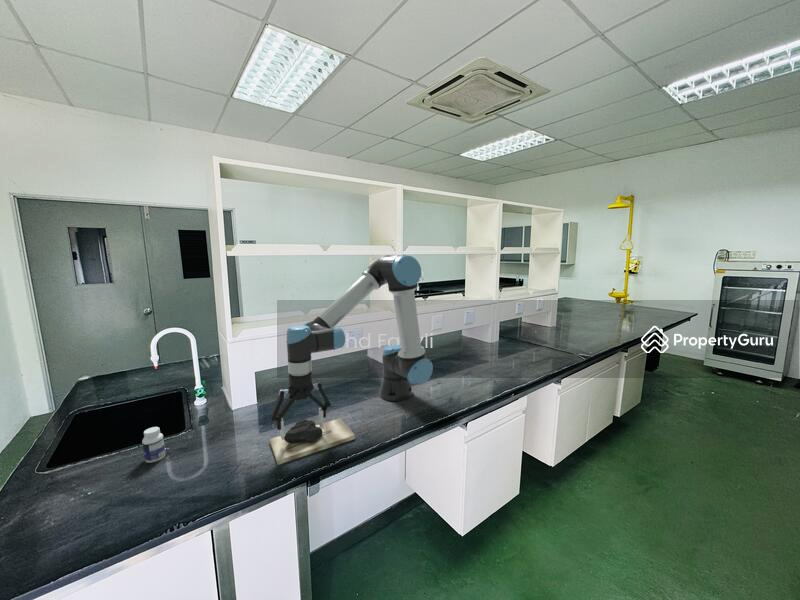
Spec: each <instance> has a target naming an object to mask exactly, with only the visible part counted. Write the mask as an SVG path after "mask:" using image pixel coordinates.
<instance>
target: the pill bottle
mask: <svg viewBox="0 0 800 600" xmlns="http://www.w3.org/2000/svg"><path fill="white" fill-rule="evenodd" d="M143 436H144V437H143V438H142V441H141V442H142V443H141V444H142V453H143V458H144V462H145V463H150V464H151V463H156V462H158V461H160V460H162V459H163V458H165V456H166V448H165V439H164V434H163V433H161V430H160V427H158V426H152V427H149V428H147V429H145V430H144V431H143Z"/></svg>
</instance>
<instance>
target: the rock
mask: <svg viewBox="0 0 800 600" xmlns="http://www.w3.org/2000/svg"><path fill="white" fill-rule="evenodd" d="M315 425H316V423H315V421H314V420H308V419H304V418H303V419H300V420H297V422H296V423H295V424H294V425H293V426H291V427H290V429H289V430H287V431H286V432H285V433H284V435H285V436H284V440H285V441H286V442H287V443H300V442H315V441H316V440H318V439H320V438H321V437H322V429H321V428H320V427H316V426H315Z"/></svg>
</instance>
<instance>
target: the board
mask: <svg viewBox="0 0 800 600" xmlns="http://www.w3.org/2000/svg"><path fill="white" fill-rule="evenodd" d="M315 426H316V427H320V426H319V424H315ZM320 428H321V427H320ZM284 436H285V434H284ZM355 439H356V435H355V433H354V432H353V431H352V429H350V427H348V425H347V424H346V423H345V422H344V420H342V419H341V418H337V419H333V420H329V421H326V422H324V428H322V437H321V438H320V439H318V440H316V441H315V442H300V443H287V442H286V441H285V440H282V439H281V437H280V435H279V436H275V437H272V438H271V437H270V438H269V439H268V440H269V445H270V447H271V450H272V453H273V456H274V458H275V461H276V464H277V466H279V465H282V464H284V463H288V462H291V461H293V460H297V459H299V458H300V459H301V458H302V457H306V456H308V455H312V454H314V453H317V452H320V451H323V450H326V449H329V448H332V447H335V446H339V445H342V444H345V443H347V442H350V441H353V440H355Z"/></svg>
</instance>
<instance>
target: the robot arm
mask: <svg viewBox="0 0 800 600" xmlns="http://www.w3.org/2000/svg"><path fill="white" fill-rule="evenodd" d="M421 277H422V267H421V265H420V263H419V261H418V260H417V259H416V258H415V257H413V256H411V255H407V254H394V255H393V254H392V255H390V254H389V255H383V256H381V257H380V258H377V260H375V261H374V262H372V263H371V264H370V265H369V266H368V267H367V268H366V269H364V270H362V272H361V277H359V278H358V279H357V280H356V281H355V282H354V283H353V284H351V286H349V287H348V288H347V289H346V290H345V291H344V292H343V293H342V294H340V296H338V298H336V299H335V300H334V301H333V302H332V303H331V304H330V305H329V306H328V307H326V308H325V310H323V311H322V312H321V313H320V314H319V315H317V317H316V318H315V319H313V320H311V321H307V322H305V323H303V325H302V324H301V325H294V326H290V327H288V328H287V331H286V341H285V342H286V351H287V372H288V373H287V374H288V375H287V377H288V388H287V389H286V388H285V389H283V388H279V389H278V397H277V399H276V401H275V404H274V406H273V408H272V411H271V412H270V415H269V418H270V420H271V421H272V422H274V421H275V422H276V429H277V431H279V434H280V435H279V436H280V437H281V439H282V440H284V435H285V426H284V425H285V423H284V419H283V418H284V417H285V415H286V413H287V412H288V411H289V409H290V407H291V406H292V405H293V404H294V403H295V401H298V402H299V401H301V400H306V399H307V398H310V399H311V400H312V401H314V403H315V404H316V405H317V406H319V407H318V425H319V426H320V427H321V429H322V428H324V423H325V421H324V419H325V418H326V417H327V409H328V408H331V406H332V404H331V402H330V400H329V398H328V396H327V395H326V393H325V392H324V389H323V386H322V385H323V384H322V383H321V382H320V381H318V380H317V381H316V382H315V383H313V373H312V370H313V368H312V367H313V366H312V354H314V353H320V352H321V353H322V352H328V351H335V350H337V349H343V347H344V346H345V343H346V334H345V332H344V330H343V328H341V327H336V326H338V324H339V323H341V321H343V320H344V319H345V317H347V316H348V315H349V314H350V313H351V312H352V311H353V310H354V309H355V308H356V307H357V306H359V304H361V302H363V301H364V300H365V299H366V298H367V297H368V296H369V295H370V294H371V293H372V292H374V290H375V291H376V290H379V289H380V288H381V287H382V286H384V285H387V288H388V292H389V293H391V294H392V295H393V302H394V308H395V317H396V323H397V324H396V325H397V330H398V332H397V333H398V337H399V338H398V339H399V344H393V345H388V346H386V347H384V348H383V349H382V352H381V353H382V356H381V357H382V381H381V384H380V388H379V397H380V398H381V399H382V400H385V401H389V402H401V401H405V400H408V399H410V398H411V397H412V395H413V389H412V386H411V385H415V386H421V385H422V386H423V384H426V383H427V381H429V380H430V377H431V376H432V374H433V367H434V366H433V363H432V361H431V359H429V358H427V353H426V349H425V348H423V347H422V342H421V335H420V328H419V319H418V312H417V303H416V297H415V295H416V294H415V291H416V290H417V289H418V283H419V282H420V279H421ZM314 389H315V390H317V392H318V393H319V395H320V397H321V398H322V400H323V401H324V403H323V402H322V401H321V400H320V399H319V398H318V397H317V396H315V395H314V393H312V391H314ZM287 394H289V396H288V397H287V400H286V401H285V402H284V399H285V397H286V395H287ZM283 402H284V404H283ZM282 404H283V405H282Z"/></svg>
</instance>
